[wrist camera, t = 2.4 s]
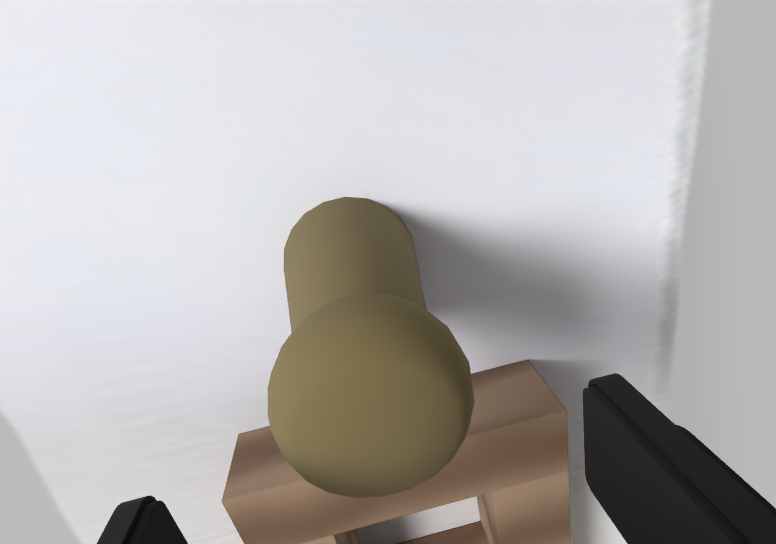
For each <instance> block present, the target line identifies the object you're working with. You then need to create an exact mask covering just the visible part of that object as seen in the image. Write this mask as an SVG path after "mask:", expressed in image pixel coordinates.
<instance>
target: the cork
mask: <svg viewBox="0 0 776 544" xmlns="http://www.w3.org/2000/svg"><path fill="white" fill-rule="evenodd" d="M284 273H285V281H286V289H287V298H288V306H289V314H290V322H291V330H292V334H291V335H290V336H289V337H288V339H287V340H286V342H285V343H284V344H283V346H282V347H281V350H280V352H279V355H278V357H277V360H276V362H275V365H274V367H273V370H272V372H271V376H270V381H269V386H268V417H269V422H270V428H271V432H272V434H273V436H274V438H275V441H276V443H277V445H278V448H279V450H280V452H281V454H282V455H283V457H284V458H285V459H286V460H287V462H288V463H289V464H290V465H291V466H292V467H293V468H294V469H295V470H296V471H297V472H298V473H299V474H300V475H301V476H302V477H303V478H304V479H305V480H306V481H307V482H308V483H310V484H312V485H314V486H316V487H318V488H320V489H322V490H324V491H327V492H329V493H331V494H337V495H342V496H347V497H353V498H369V497H384V496H388V495H392V494H395V493H399V492H402V491H406V490H410V489H411V488H413V487H415V486H417V485H419V484H421V483H423V482H424V481H426V480H428V479H430V478H432V477H434V476H435V475H436V474H437V473H438V472H439V471H440V470H441V469H442V468H443V467H445V466H446V465H447V464H448V463H449V462H450V461H451V460H452V459H453V458H454V456H455V454H456V453H457V451H458V449H459V448H460V446H461V445H462V443H463V441H464V440H465V437H466V434H467V431H468V428H469V425H470V421H471V416H472V412H473V407H474V403H475V400H474V392H473V385H472V379H471V373H470V366H469V361H468V360H467V358H466V356H465V354H464V353H463V351H462V349H461V347H460V346H459V344H458V343H457V341H456V339H455V338H454V336H453V334H452V333H451V331H450V329H449V328H448V327H447V326H446V325H445V324H443V323H442V322H441V321H440V320H438V319H437V318H436V317H434V316H433V315H432V314H430V313H429V312H428V311H427V310H426V306H425V301H424V296H423V291H422V285H421V280H420V275H419V270H418V265H417V260H416V255H415V250H414V245H413V240H412V236H411V235H410V233H409V231H408V229H407V228H406V226H405V224H404V223H403V221H402V220H401V219H400V218H399V217H398V216H397V215H396V214H394V213H393V212H392V211H391V210H390V209H389V208H387V207H386V206H384V205H381V204H379V203H376V202H374V201H371V200H369V199H365V198H351V197H343V198H339V199H335V200H331V201H327V202H323V203H321V204H320V205H318V206H316V207H315V208H313V209H312V210H310V211H308V212H307V213H305V214H304V215H303V216H302V218H301V219H300V220H299V221H298V223H297V224H296V225H295V226H294V227H293V229H292V230H291V232H290V235H289V237H288V240H287V243H286V246H285V248H284Z"/></svg>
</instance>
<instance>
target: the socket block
mask: <svg viewBox="0 0 776 544" xmlns="http://www.w3.org/2000/svg"><path fill="white" fill-rule="evenodd" d="M471 379H472V385H473V392H474V400H475V403H474V407H473V412H472V416H471V421H470V425H469V428H468V431H467V434H466V437H465V440H464V441H463V443H462V445H461V446H460V448H459V449H458V451H457V453H456V454H455V456H454V458H453V459H452V460H451V461H450V462H449V463H448V464H447V465H446V466H445V467H443V468H442V469H441V470H440V471H439V472H438V473H437V474H436V475H435V476H434V477H432V478H430V479H428V480H426V481H424V482H423V483H421V484H419V485H417V486H415V487H413V488H411V489H410V490H406V491H402V492H399V493H395V494H392V495H388V496H384V497H369V498H353V497H347V496H342V495H337V494H331V493H329V492H327V491H324V490H322V489H320V488H318V487H316V486H314V485H312V484H310V483H308V482H307V481H306V480H305V479H304V478H303V477H302V476H301V475H300V474H299V473H298V472H297V471H296V470H295V469H294V468H293V467H292V466H291V465H290V464H289V463H288V462H287V460H286V459H285V458H284V457H283V455H282V454H281V452H280V450H279V448H278V445H277V443H276V441H275V438H274V436H273V434H272V432H271V428H270V426H269V427H265V428H261V429H258V430H254V431H250V432H246V433H242V434H238V438H237V442H236V446H235V450H234V454H233V458H232V462H231V466H230V470H229V474H228V479H227V483H226V487H225V491H224V495H223V499H222V503H223V505H224V507H225V509H226V511H227V512H228V514H229V516H230V518H231V520H232V522H233V524H234V525H235V527H236V529H237V531H238V533H239V535H240V536H241V538H242V540H243V542H244V544H359V542H358V539H357V537H356V534H355V531H354V529H357V528H361V527H364V526H368V525H372V524H375V523H379V522H383V521H386V520H390V519H394V518H397V517H401V516H405V515H408V514H412V513H416V512H419V511H423V510H427V509H430V508H434V507H438V506H441V505H445V504H449V503H452V502H456V501H460V500H463V499H467V498H471V497H474V496H477V500H478V506H479V512H480V518H481V521H480V522H476V523H473V524H469V525H465V526H462V527H458V528H455V529H451V530H447V531H444V532H440V533H436V534H433V535H429V536H426V537H422V538H418V539H415V540H411V541H407V542H404V543H400V544H571V541H570V507H569V473H568V439H567V410H566V409H565V407H564V406H563V405H562V403H561V402H560V401H559V399H558V398H557V397H556V396H555V394H554V393H553V392H552V390H551V389H550V388H549V386H548V385H547V384H546V382H545V381H544V380H543V379H542V377H541V376H540V375H539V373H538V372H537V371H536V369H535V368H534V367H533V365H532V364H531V363H530V362H529V360H525V361H521V362H517V363H513V364H509V365H505V366H501V367H498V368H494V369H490V370H486V371H482V372H478V373H474V374H471Z"/></svg>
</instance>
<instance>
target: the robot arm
mask: <svg viewBox="0 0 776 544" xmlns="http://www.w3.org/2000/svg"><path fill="white" fill-rule="evenodd" d="M583 416H584V449H585V475H586V480H587V483H588V485H589V487H590V489H591V491H592V493H593V494H594V496H595V497H596V499H597V500H598V501H599V503H600V504H601V506H602V507H603V509H604V510H605V512H606V513H607V515H608V516H609V517H610V519H611V520H612V522H613V523H614V525H615V526H616V528H617V529H618V531H619V532H620V533H621V535H622V536H623V538H624V539H625V541H626V542H627V544H776V509H775V508H774V507H773V506H772V505H771V504H770V503H769V502H768V501H767V500H766V499H764V498H763V497H762V496H761V495H760V494H759V493H758V492H757V491H755V490H754V489H753V488H752V487H751V486H750V485H749V484H748V483H746V482H745V481H744V480H743V479H742V478H741V477H740V476H739V475H738V474H736V473H735V472H734V471H733V470H732V469H731V468H730V467H729V466H728V465H726V464H725V463H724V462H723V461H722V460H721V459H720V458H718V457H717V456H716V455H715V454H714V453H713V452H712V451H711V450H710V449H708V448H707V447H706V446H705V445H704V444H703V443H702V442H701V441H700V440H698V439H697V438H696V437H695V436H694V435H693V434H691V433H690V432H689V431H688V430H686V429H685V428H683V427H681V426H678V425H675V424H674V423H672V422H671V421H670V420H669V419H668V418H667V417H666V416H665V415H664V414H663V413H662V412H660V411H659V410H658V409H657V408H656V407H655V406H654V405H653V404H652V403H651V402H650V401H648V400H647V399H646V398H645V397H644V396H643V395H642V394H641V393H640V392H639V391H637V390H636V389H635V388H634V387H633V386H632V385H631V384H630V383H629V382H628V381H627V380H625V379H624V378H623V377H622V376H621V375H619V374H616V373H615V374H611V375H607V376H603V377H599V378H596V379H592V380H590V381H589V385H588V388H585V389H584V390H583ZM97 544H188V543H187V541H186V539H185V538H184V536H183V534H182V533H181V531H180V529H179V528H178V526H177V524H176V522H175V521H174V519H173V517H172V516H171V514H170V512H169V510H168V509H167V507H166V505H165V504H164V503H163V501H157V500H156V499H155V498H154V497H152V496H146V497H142V498H139V499H135V500H131V501H127V502H123V503H121V504H120V505H118V506H117V508H116V509H115V510H114V512H113V514H112V516H111V518H110V520H109V522H108V524H107V525H106V527H105V529H104V531H103V533H102V535H101V537H100V539H99V541H98V542H97Z"/></svg>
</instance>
